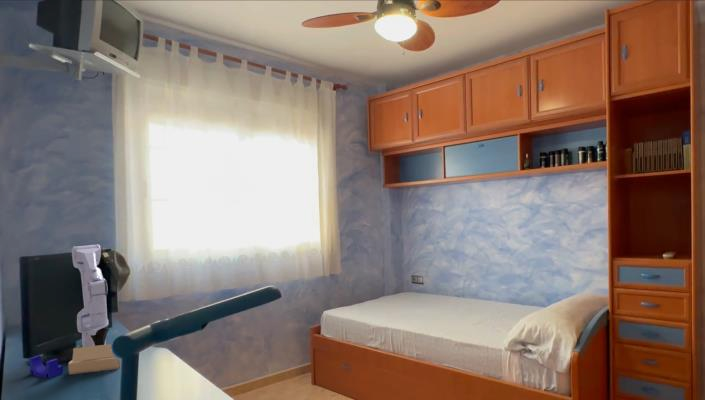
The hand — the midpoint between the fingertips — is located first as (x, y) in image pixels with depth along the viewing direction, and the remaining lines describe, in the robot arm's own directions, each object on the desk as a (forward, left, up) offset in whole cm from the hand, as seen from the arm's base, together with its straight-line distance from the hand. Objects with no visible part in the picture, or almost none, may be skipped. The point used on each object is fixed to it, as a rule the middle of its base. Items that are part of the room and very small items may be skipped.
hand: (100, 348), depth 161 cm
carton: (0, 0, -6) cm, 6 cm away
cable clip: (+3, -17, -6) cm, 18 cm away
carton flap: (+6, 0, +1) cm, 6 cm away
